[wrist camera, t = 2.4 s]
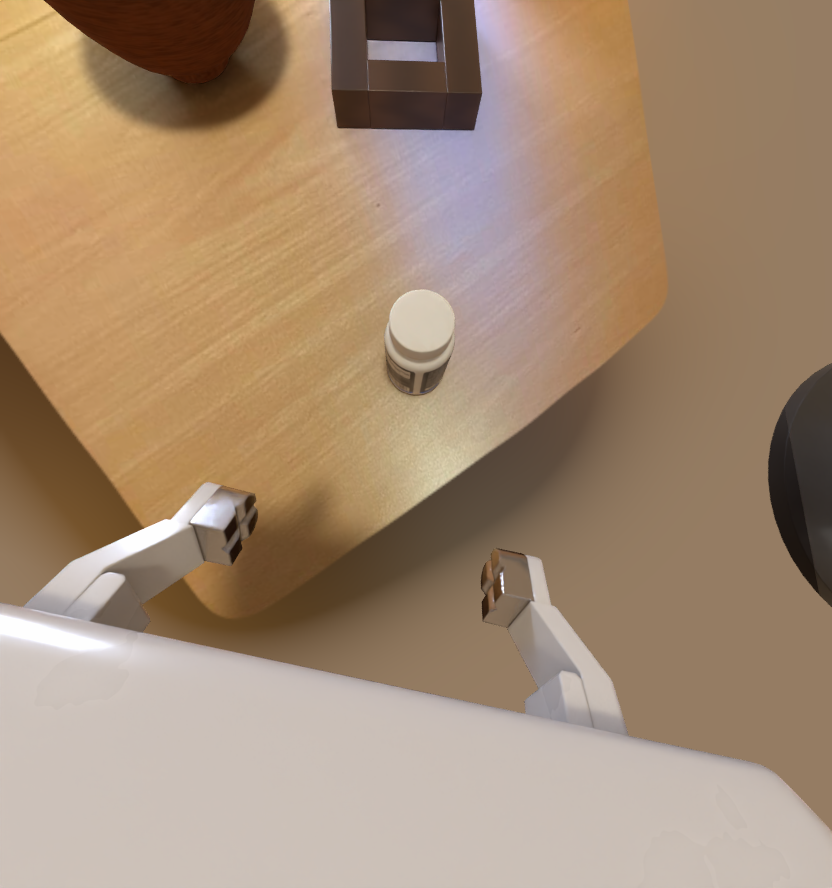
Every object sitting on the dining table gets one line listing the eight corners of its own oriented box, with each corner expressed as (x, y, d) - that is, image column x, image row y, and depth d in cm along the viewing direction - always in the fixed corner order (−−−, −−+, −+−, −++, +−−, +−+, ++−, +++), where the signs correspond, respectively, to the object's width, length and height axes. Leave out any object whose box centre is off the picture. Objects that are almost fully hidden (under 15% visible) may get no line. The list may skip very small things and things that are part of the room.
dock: (464, 16, 33) (471, -30, 30) (474, 130, 32) (482, 93, 29) (334, 11, 32) (328, -37, 29) (337, 127, 31) (331, 89, 28)
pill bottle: (440, 340, 29) (459, 281, 20) (445, 394, 28) (466, 355, 20) (385, 342, 28) (380, 283, 20) (388, 397, 28) (385, 359, 20)
